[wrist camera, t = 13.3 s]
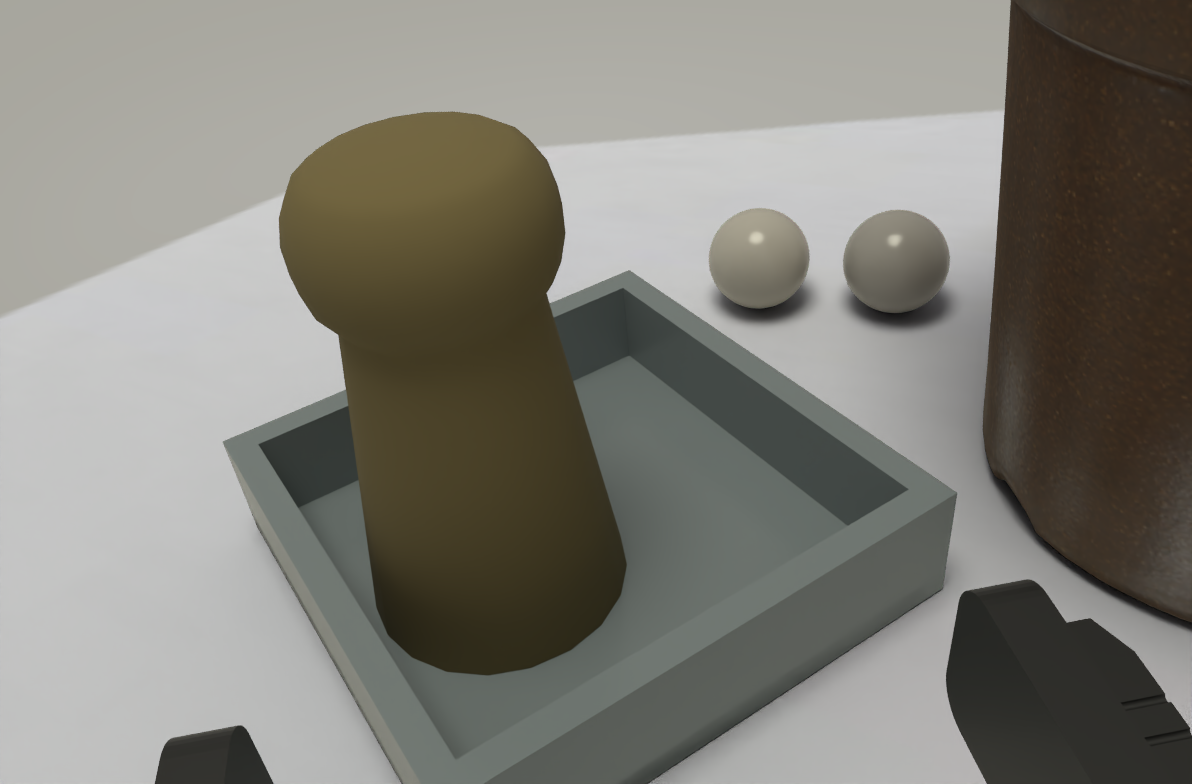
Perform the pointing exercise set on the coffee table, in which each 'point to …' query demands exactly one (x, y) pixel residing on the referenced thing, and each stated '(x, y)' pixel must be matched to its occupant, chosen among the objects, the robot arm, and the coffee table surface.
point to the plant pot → (1098, 290)
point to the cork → (457, 387)
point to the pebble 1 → (759, 258)
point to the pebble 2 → (896, 261)
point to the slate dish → (629, 557)
